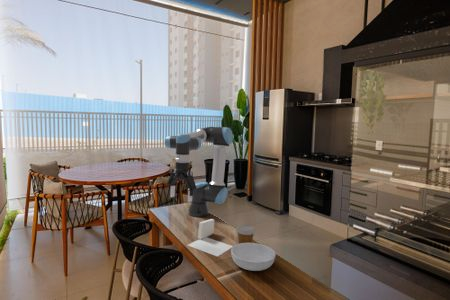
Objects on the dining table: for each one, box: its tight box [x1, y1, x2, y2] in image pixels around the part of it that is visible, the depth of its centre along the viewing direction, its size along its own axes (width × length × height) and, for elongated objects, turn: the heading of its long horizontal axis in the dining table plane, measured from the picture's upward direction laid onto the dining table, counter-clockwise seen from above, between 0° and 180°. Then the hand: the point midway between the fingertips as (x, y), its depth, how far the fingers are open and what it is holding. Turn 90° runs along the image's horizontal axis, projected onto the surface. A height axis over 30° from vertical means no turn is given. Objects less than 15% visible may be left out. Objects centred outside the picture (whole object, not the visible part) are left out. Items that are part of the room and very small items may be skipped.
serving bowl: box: [230, 242, 276, 272], centre depth 128 cm, size 21×21×7 cm
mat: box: [187, 237, 234, 258], centre depth 145 cm, size 15×20×1 cm
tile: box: [197, 218, 215, 240], centre depth 158 cm, size 12×2×9 cm, turn 147°
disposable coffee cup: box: [236, 224, 256, 244], centre depth 144 cm, size 10×10×12 cm
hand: (181, 199), depth 152 cm, fingers open, 13 cm apart
